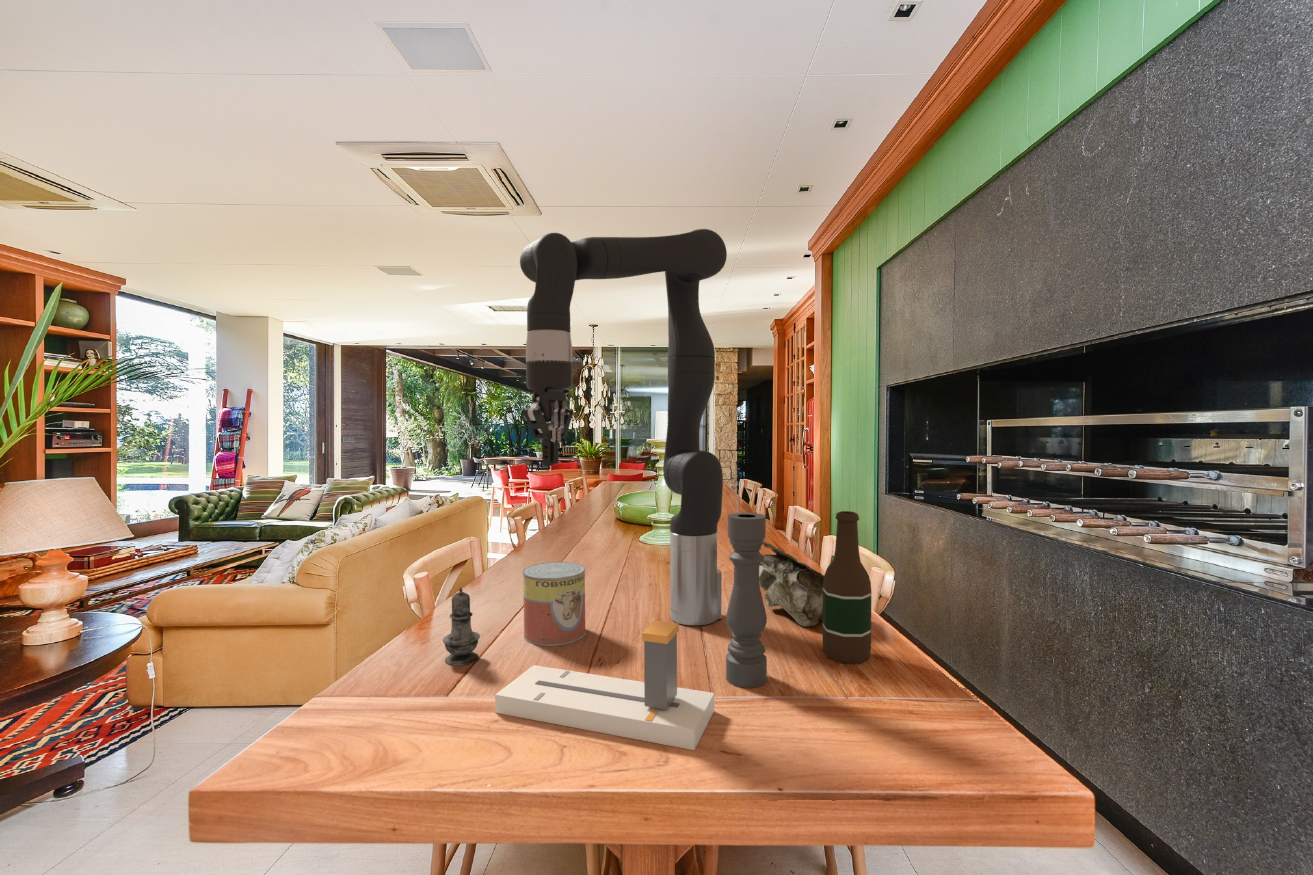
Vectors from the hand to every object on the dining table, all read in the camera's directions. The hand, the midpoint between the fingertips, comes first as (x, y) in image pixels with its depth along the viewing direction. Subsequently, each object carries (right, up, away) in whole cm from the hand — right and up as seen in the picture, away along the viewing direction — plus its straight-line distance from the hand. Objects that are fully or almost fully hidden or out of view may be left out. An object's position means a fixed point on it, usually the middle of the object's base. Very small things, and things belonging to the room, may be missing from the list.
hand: (550, 464), depth 99 cm
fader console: (+11, -33, -18) cm, 39 cm away
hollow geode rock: (+47, -31, +26) cm, 62 cm away
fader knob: (+18, -30, -21) cm, 41 cm away
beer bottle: (+49, -32, +1) cm, 59 cm away
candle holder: (+31, -32, -8) cm, 46 cm away
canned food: (-1, -32, +11) cm, 34 cm away
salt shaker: (-15, -32, 0) cm, 35 cm away
